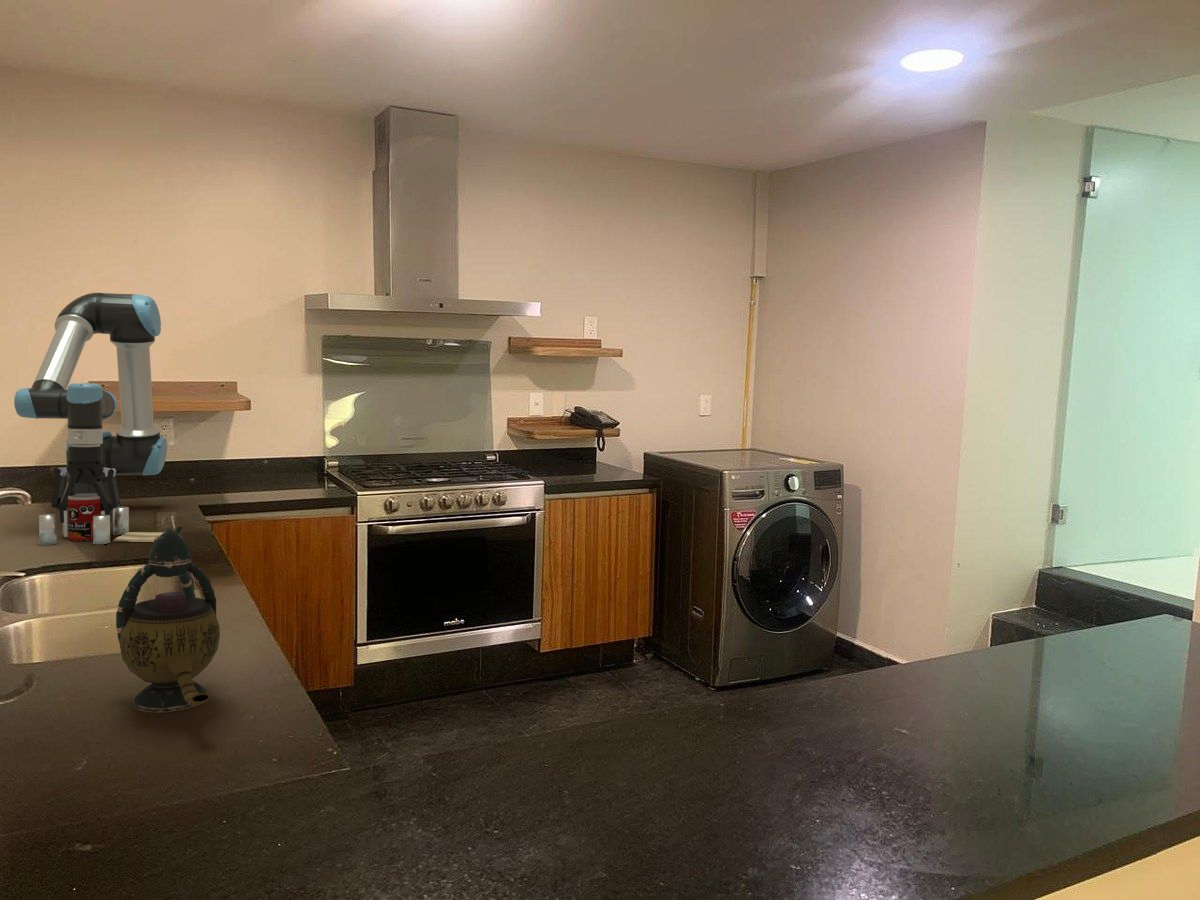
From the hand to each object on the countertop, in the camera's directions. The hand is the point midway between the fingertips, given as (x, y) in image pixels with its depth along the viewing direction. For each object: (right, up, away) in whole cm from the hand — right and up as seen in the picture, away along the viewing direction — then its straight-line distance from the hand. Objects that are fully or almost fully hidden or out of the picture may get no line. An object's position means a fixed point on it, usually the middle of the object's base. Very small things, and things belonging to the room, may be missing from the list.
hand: (86, 535), depth 223 cm
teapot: (+74, -12, -107) cm, 131 cm away
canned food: (0, -1, 0) cm, 1 cm away
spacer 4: (+5, 0, +7) cm, 9 cm away
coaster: (+12, -1, +2) cm, 13 cm away
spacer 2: (-7, 0, +5) cm, 9 cm away
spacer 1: (-5, -1, -8) cm, 9 cm away
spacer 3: (+7, -1, -6) cm, 9 cm away
